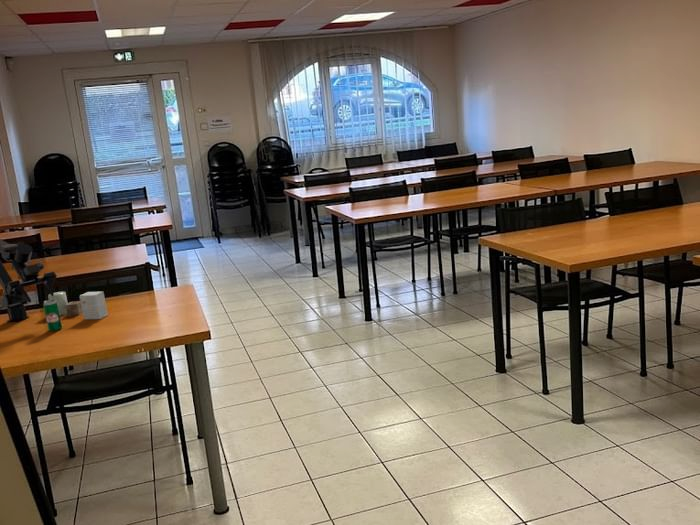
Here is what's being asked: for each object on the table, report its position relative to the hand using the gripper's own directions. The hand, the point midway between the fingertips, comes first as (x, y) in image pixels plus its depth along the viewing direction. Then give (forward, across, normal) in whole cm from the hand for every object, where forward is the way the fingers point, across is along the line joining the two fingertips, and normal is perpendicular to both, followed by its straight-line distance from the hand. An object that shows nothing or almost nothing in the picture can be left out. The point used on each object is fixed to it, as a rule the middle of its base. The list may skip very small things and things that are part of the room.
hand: (42, 298), depth 263 cm
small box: (+14, +17, +4) cm, 22 cm away
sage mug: (-2, +14, +20) cm, 24 cm away
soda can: (+13, 0, +4) cm, 14 cm away
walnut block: (+3, +16, +15) cm, 22 cm away
